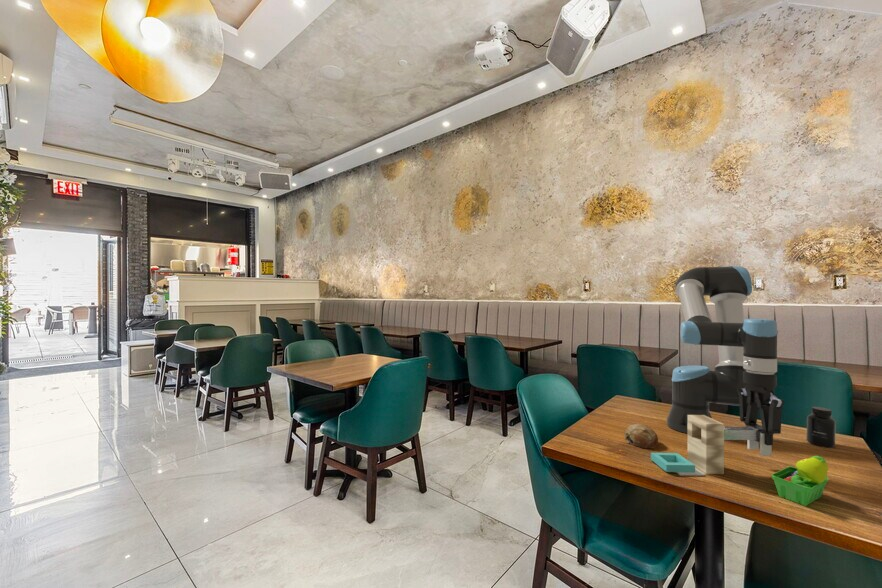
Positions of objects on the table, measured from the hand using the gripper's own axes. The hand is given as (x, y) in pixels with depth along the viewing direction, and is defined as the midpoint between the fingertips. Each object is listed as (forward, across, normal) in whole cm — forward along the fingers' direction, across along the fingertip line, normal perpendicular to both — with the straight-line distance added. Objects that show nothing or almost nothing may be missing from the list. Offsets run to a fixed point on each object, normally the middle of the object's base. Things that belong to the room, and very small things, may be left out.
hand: (759, 451), depth 108 cm
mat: (+5, 0, -23) cm, 23 cm away
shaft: (-4, 0, -7) cm, 8 cm away
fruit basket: (+5, +16, -3) cm, 17 cm away
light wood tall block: (+5, 0, -16) cm, 16 cm away
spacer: (+3, 0, -21) cm, 22 cm away
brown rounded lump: (+5, -18, -24) cm, 31 cm away
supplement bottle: (+5, -18, +36) cm, 41 cm away
